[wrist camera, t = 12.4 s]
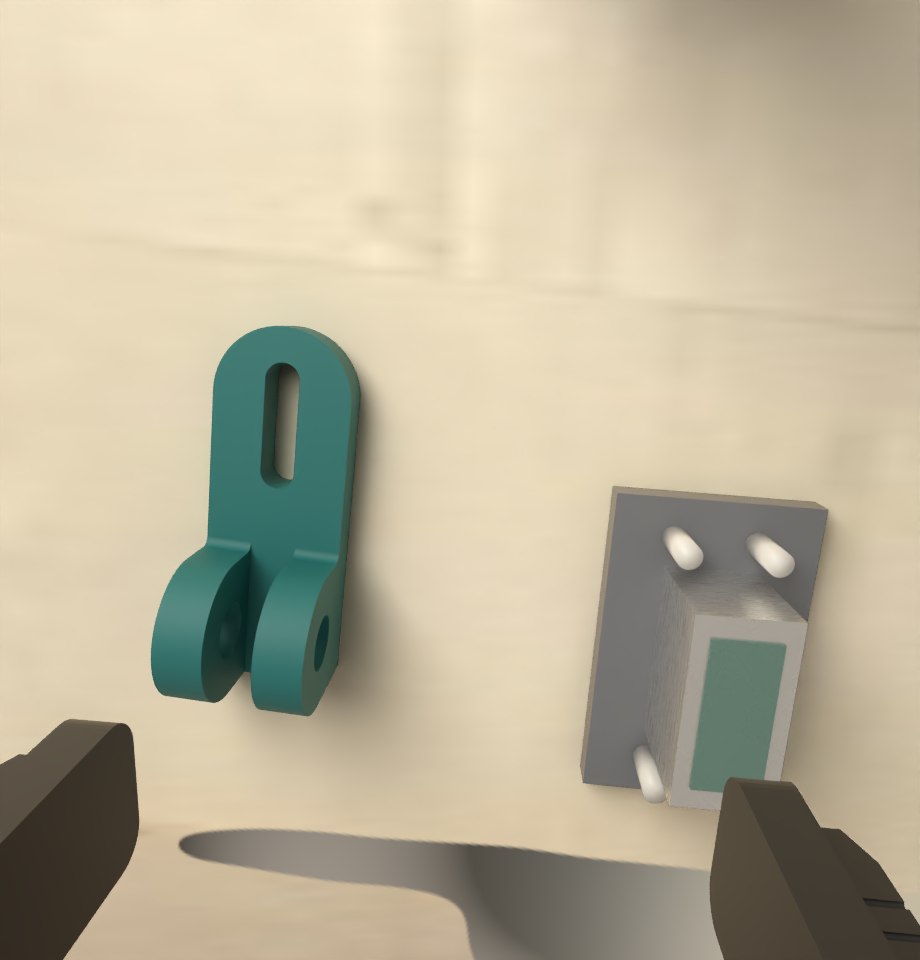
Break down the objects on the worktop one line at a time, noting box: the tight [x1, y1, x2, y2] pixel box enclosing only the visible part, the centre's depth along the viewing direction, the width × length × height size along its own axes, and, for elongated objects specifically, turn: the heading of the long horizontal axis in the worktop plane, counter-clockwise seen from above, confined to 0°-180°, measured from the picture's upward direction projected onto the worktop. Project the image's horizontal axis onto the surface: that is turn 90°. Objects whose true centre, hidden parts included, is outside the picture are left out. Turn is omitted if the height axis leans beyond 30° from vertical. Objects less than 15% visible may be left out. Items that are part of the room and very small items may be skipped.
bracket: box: [151, 326, 360, 716], centre depth 33 cm, size 18×7×8 cm, turn 173°
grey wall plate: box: [580, 486, 828, 803], centre depth 35 cm, size 16×10×4 cm, turn 176°
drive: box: [644, 566, 808, 811], centre depth 33 cm, size 9×4×6 cm, turn 177°
